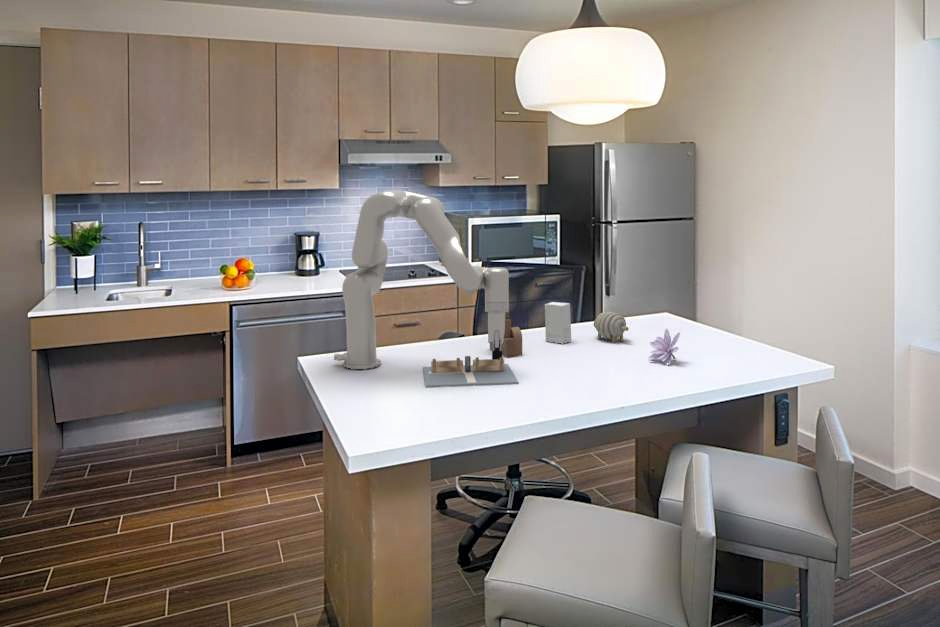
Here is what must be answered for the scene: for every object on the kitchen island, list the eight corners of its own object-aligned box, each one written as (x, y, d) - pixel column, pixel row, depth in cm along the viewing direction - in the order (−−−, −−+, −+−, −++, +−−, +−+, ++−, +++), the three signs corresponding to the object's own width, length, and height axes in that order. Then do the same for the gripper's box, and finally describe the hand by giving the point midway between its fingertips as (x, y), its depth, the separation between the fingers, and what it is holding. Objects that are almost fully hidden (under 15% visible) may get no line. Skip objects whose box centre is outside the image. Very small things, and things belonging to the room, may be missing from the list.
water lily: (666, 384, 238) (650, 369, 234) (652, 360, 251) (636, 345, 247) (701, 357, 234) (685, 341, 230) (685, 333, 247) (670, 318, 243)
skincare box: (571, 342, 271) (572, 303, 268) (562, 344, 267) (562, 305, 264) (553, 338, 277) (553, 300, 274) (544, 341, 272) (544, 302, 269)
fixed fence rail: (462, 370, 229) (462, 357, 228) (463, 371, 228) (462, 358, 227) (431, 371, 228) (431, 358, 227) (431, 372, 227) (431, 359, 226)
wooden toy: (523, 355, 251) (523, 284, 246) (506, 357, 248) (506, 286, 244) (504, 346, 265) (503, 279, 260) (487, 348, 262) (487, 280, 258)
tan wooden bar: (472, 371, 228) (472, 358, 227) (472, 369, 229) (472, 357, 229) (504, 370, 228) (504, 358, 227) (504, 369, 230) (504, 356, 229)
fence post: (465, 374, 228) (465, 357, 227) (464, 372, 230) (464, 356, 229) (471, 374, 228) (470, 357, 227) (470, 372, 230) (470, 355, 229)
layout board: (425, 387, 214) (425, 385, 214) (423, 368, 235) (422, 366, 235) (518, 383, 216) (518, 381, 216) (507, 365, 238) (507, 363, 238)
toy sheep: (602, 335, 282) (603, 307, 280) (637, 342, 269) (638, 313, 267) (584, 339, 276) (585, 310, 274) (619, 346, 263) (620, 316, 261)
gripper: (485, 302, 235) (486, 357, 239) (484, 310, 221) (484, 368, 224) (508, 302, 235) (508, 357, 238) (508, 310, 220) (508, 368, 224)
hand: (497, 362), depth 231 cm, fingers closed
